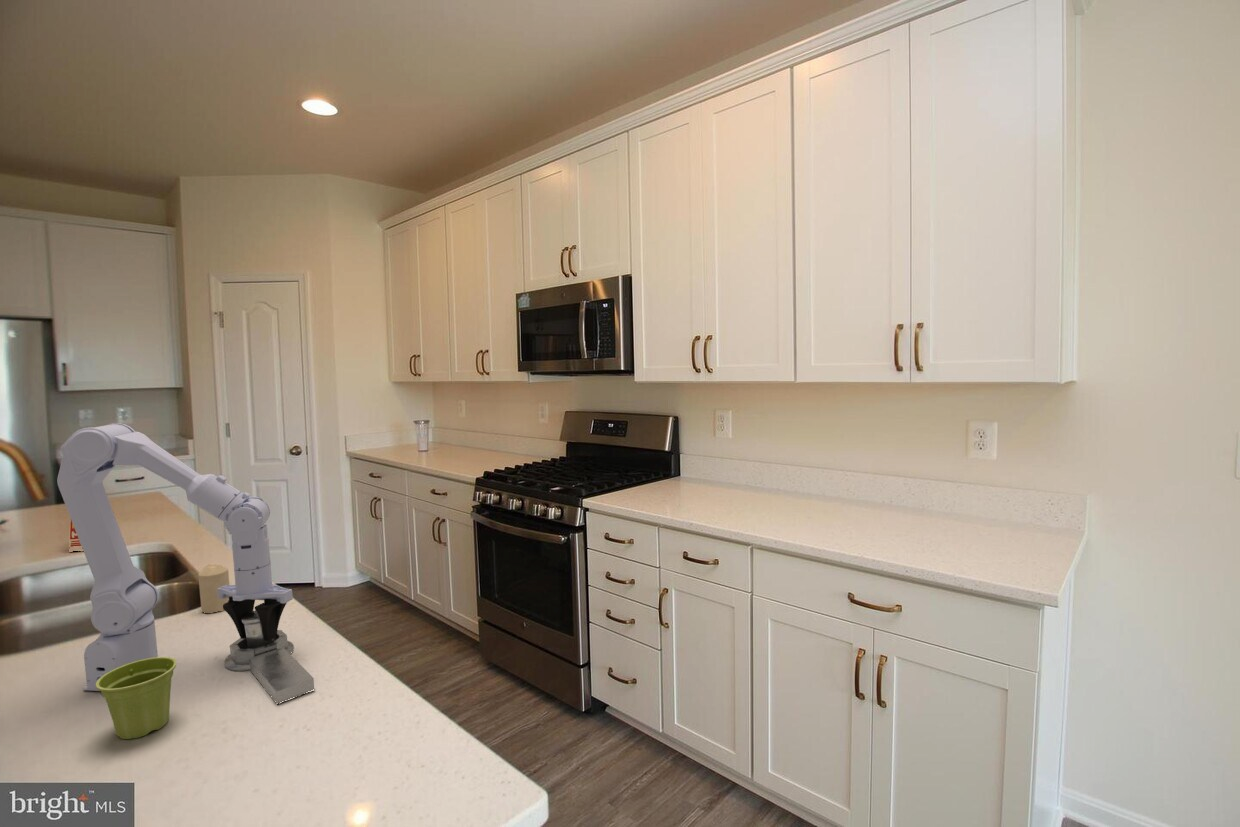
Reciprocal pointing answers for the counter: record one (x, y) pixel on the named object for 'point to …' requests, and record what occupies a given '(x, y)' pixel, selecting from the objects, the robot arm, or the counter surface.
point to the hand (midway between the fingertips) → (258, 637)
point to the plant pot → (138, 695)
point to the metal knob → (254, 631)
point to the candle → (212, 587)
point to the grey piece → (272, 667)
